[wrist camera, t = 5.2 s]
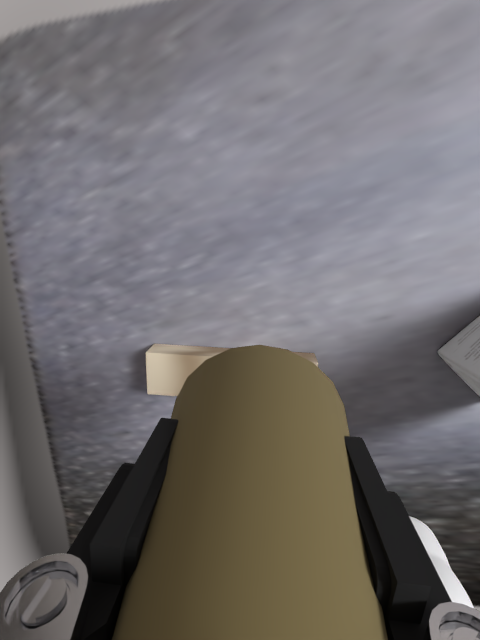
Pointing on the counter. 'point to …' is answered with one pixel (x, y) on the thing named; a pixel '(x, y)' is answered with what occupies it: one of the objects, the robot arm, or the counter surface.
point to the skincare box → (465, 355)
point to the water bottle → (441, 564)
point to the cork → (254, 513)
